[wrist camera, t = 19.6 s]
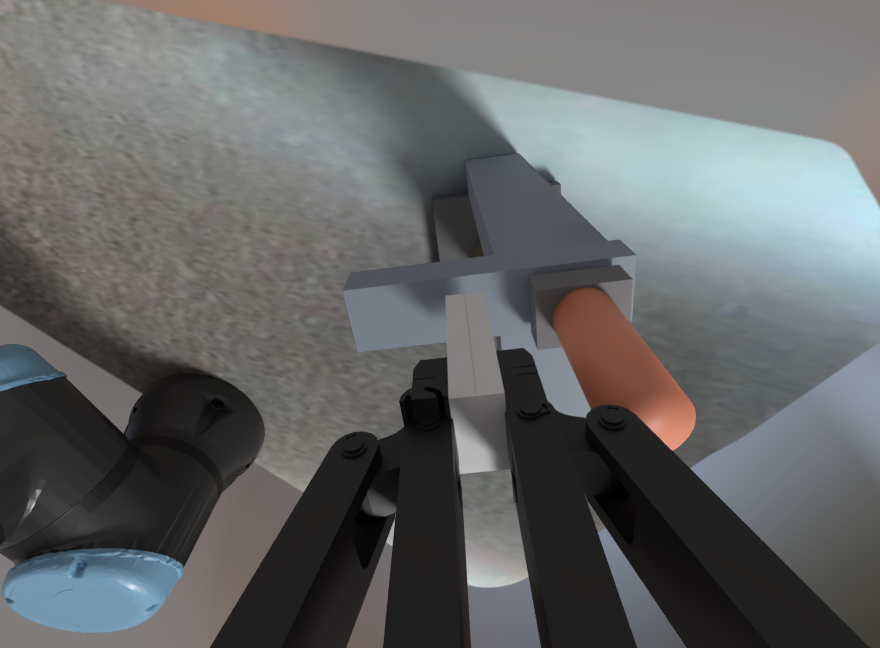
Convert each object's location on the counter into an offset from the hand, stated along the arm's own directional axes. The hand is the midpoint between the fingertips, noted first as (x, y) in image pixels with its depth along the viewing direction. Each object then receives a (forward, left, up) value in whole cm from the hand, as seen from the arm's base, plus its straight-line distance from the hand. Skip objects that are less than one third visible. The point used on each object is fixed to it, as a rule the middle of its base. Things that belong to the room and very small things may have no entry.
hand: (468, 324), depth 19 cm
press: (+2, -6, -30) cm, 30 cm away
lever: (+4, 0, -2) cm, 5 cm away
